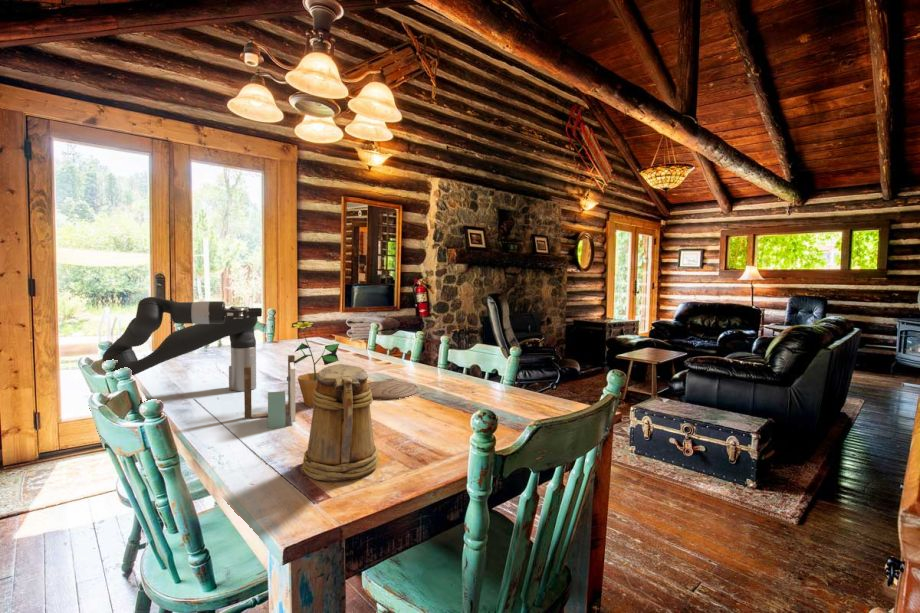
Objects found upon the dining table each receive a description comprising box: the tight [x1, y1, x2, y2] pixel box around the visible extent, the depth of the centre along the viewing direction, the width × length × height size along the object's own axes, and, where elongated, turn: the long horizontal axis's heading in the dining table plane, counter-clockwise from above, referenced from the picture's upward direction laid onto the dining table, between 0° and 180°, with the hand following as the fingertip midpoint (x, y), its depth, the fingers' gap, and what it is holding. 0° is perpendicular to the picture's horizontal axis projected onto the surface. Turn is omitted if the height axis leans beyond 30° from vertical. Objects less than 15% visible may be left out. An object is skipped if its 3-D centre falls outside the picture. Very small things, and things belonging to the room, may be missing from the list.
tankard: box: [302, 363, 380, 483], centre depth 111 cm, size 18×24×25 cm
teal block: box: [267, 390, 286, 429], centre depth 143 cm, size 5×5×10 cm
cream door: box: [286, 362, 296, 423], centre depth 147 cm, size 10×2×17 cm, turn 23°
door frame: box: [243, 354, 296, 420], centre depth 151 cm, size 15×3×20 cm, turn 113°
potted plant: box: [290, 320, 340, 407], centre depth 166 cm, size 18×19×30 cm
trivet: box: [367, 380, 419, 401], centre depth 186 cm, size 25×25×2 cm
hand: (261, 312), depth 157 cm, fingers open, 8 cm apart
